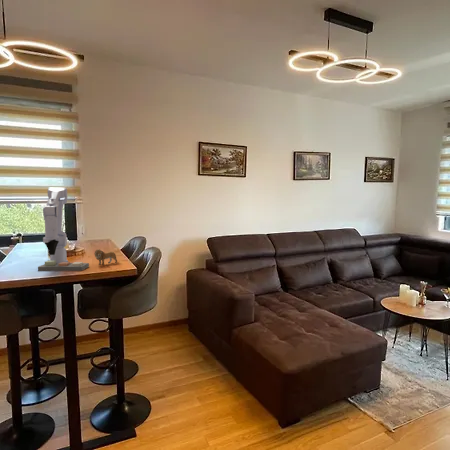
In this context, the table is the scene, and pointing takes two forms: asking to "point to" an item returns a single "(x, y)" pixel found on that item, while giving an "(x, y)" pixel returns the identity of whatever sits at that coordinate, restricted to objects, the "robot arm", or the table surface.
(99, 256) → the lion figurine
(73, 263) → the cream button
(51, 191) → the robot arm
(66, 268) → the button panel
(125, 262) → the table surface
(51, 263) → the sage button
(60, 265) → the terracotta button
